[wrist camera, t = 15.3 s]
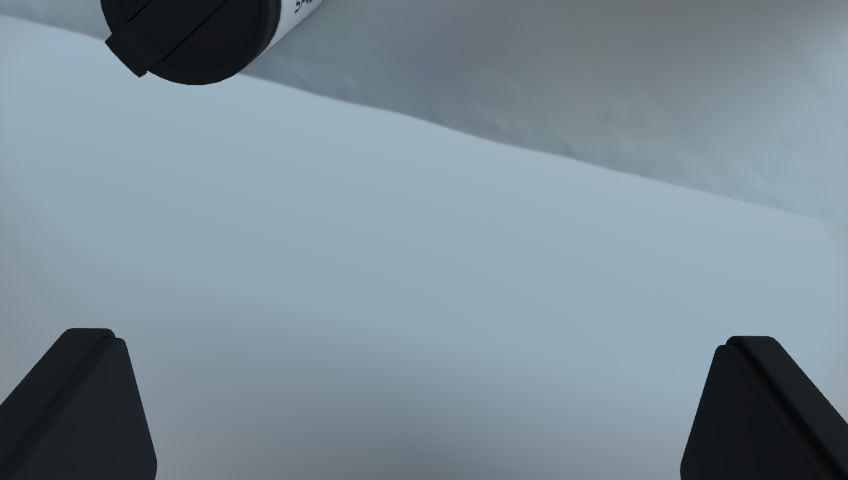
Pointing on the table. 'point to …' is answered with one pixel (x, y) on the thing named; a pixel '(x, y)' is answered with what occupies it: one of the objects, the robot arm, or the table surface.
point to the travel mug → (198, 34)
